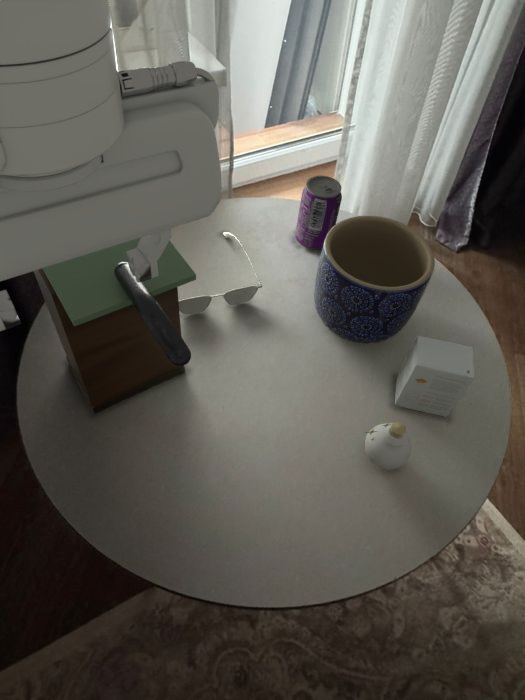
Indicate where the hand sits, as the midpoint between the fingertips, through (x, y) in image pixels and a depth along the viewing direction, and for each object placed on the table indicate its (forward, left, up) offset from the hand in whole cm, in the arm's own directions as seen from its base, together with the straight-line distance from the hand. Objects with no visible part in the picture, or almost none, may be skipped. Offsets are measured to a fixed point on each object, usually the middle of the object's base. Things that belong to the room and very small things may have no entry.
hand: (79, 296), depth 34 cm
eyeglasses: (+35, +22, -38) cm, 56 cm away
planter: (+45, -4, -38) cm, 59 cm away
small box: (+38, -20, -38) cm, 57 cm away
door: (+9, +6, -12) cm, 17 cm away
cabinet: (+13, +17, -37) cm, 43 cm away
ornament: (+25, -20, -38) cm, 49 cm away
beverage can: (+56, +13, -38) cm, 69 cm away
